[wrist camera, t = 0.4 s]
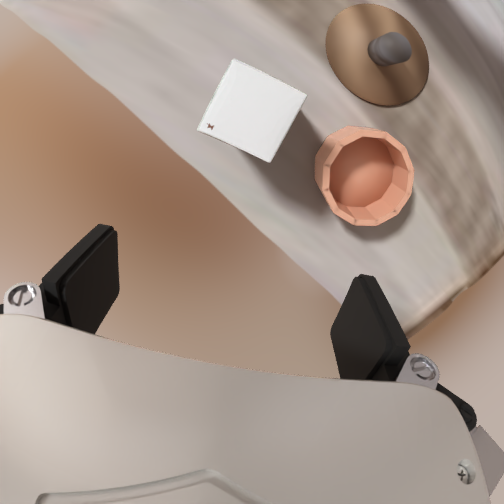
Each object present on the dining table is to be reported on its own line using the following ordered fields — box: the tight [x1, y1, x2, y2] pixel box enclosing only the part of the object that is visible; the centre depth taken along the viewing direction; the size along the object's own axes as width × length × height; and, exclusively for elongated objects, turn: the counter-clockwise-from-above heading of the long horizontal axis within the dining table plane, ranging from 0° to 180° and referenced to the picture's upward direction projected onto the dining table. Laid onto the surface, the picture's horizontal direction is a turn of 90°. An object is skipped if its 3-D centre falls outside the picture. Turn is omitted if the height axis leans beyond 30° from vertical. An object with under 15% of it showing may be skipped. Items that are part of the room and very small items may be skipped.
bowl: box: [314, 126, 414, 226], centre depth 35 cm, size 12×12×6 cm
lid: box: [326, 4, 429, 105], centre depth 27 cm, size 15×15×6 cm
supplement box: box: [197, 59, 307, 163], centre depth 28 cm, size 7×7×13 cm
